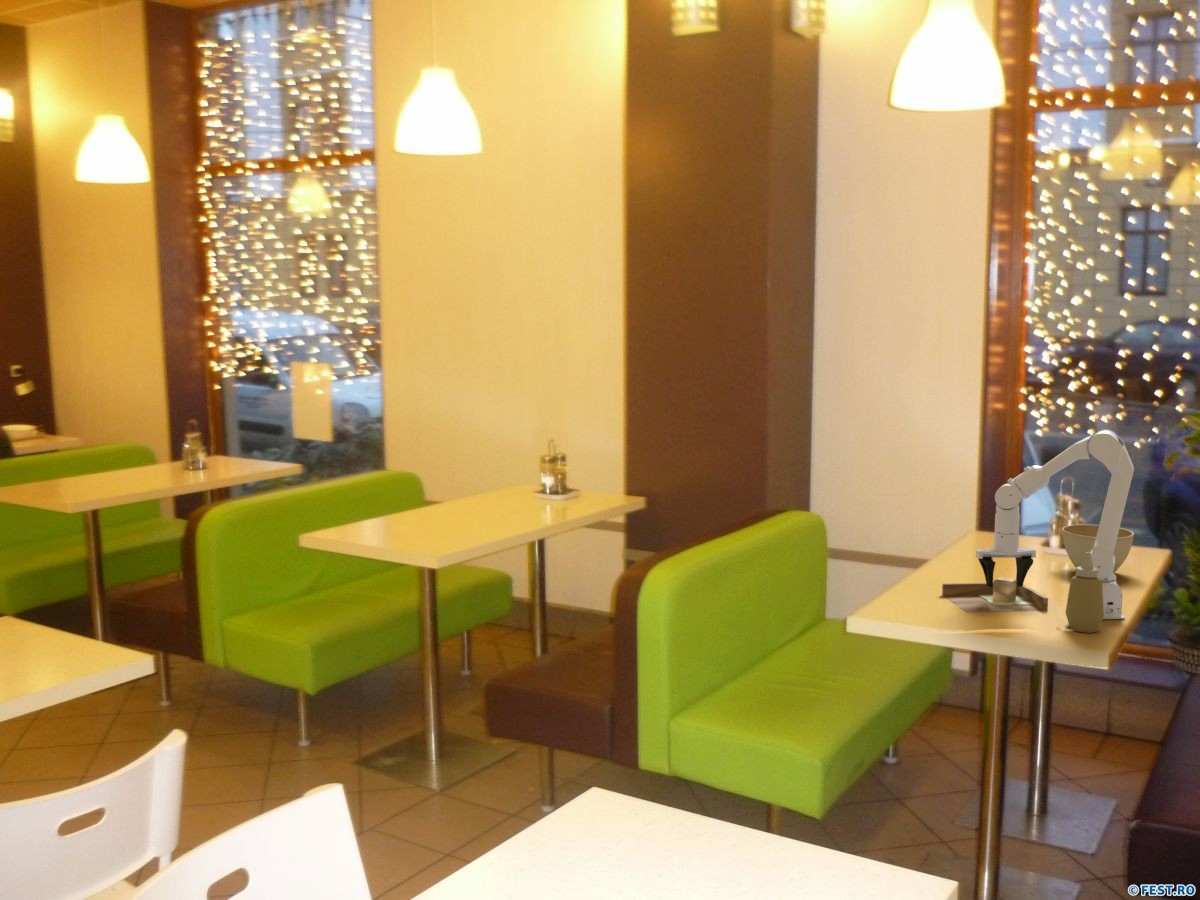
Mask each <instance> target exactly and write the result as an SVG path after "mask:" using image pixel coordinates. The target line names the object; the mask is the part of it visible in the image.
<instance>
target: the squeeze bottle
mask: <svg viewBox="0 0 1200 900" xmlns="http://www.w3.org/2000/svg"><path fill="white" fill-rule="evenodd" d="M1097 576H1098V569H1097V568H1094V567H1093V563H1092V557H1091V553H1090V552H1085V555H1084V558H1083V561H1082V565H1081V566H1079V567H1077V568H1075V575H1073V576H1072V577H1071V579H1070V583H1069V590H1068V596H1067V602H1066V606H1065V607H1066V608H1065V616H1066V619H1067V623H1068V625H1069V628H1070V629H1071V630H1073V631H1076V632H1079V633H1096V632H1098V630H1099V629H1100V626H1101V624H1102V621H1104V619H1103V617H1104V608H1103V590H1102V581H1101V580H1100V579H1099V578H1098V577H1097Z"/></svg>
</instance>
